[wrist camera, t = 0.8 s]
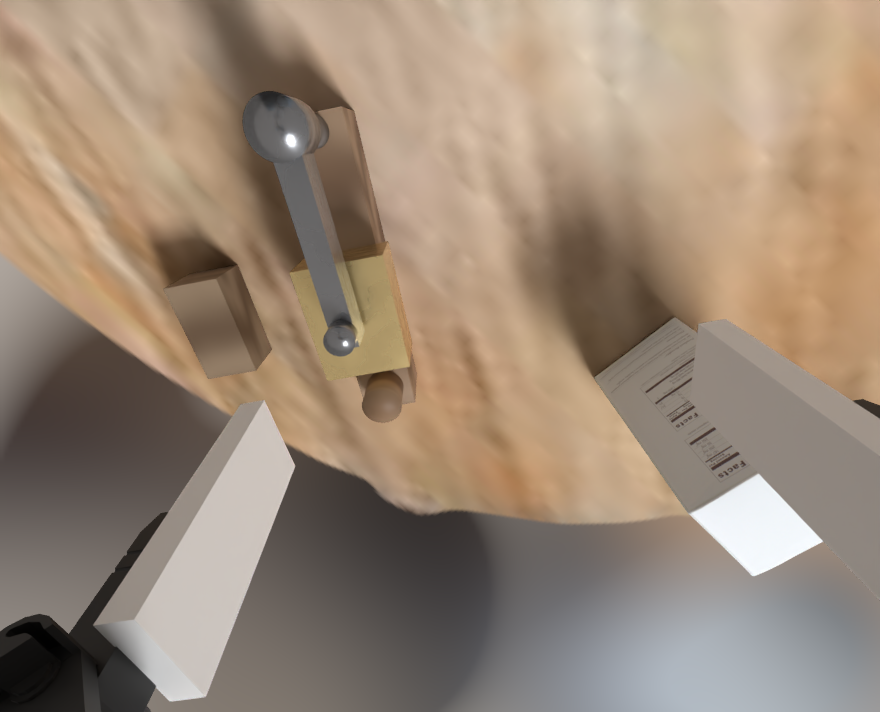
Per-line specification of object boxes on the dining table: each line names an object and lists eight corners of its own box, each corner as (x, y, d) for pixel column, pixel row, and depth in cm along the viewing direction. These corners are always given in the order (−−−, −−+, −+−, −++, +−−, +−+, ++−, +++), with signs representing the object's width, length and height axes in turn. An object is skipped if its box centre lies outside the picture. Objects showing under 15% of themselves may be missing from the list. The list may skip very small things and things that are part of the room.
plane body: (297, 123, 31) (249, 116, 23) (354, 111, 31) (326, 100, 22) (373, 380, 41) (359, 442, 32) (416, 373, 40) (413, 433, 32)
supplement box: (590, 376, 41) (683, 513, 26) (674, 313, 38) (831, 424, 23) (644, 432, 44) (754, 582, 29) (725, 377, 42) (892, 512, 26)
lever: (254, 103, 22) (225, 97, 19) (310, 91, 22) (290, 82, 19) (331, 336, 28) (318, 362, 25) (375, 328, 28) (368, 353, 25)
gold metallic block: (305, 257, 30) (289, 272, 27) (388, 241, 30) (382, 255, 26) (338, 355, 34) (327, 380, 30) (412, 342, 33) (410, 366, 30)
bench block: (189, 273, 36) (163, 288, 32) (237, 264, 35) (216, 278, 32) (228, 357, 39) (208, 379, 36) (271, 349, 39) (256, 370, 35)
